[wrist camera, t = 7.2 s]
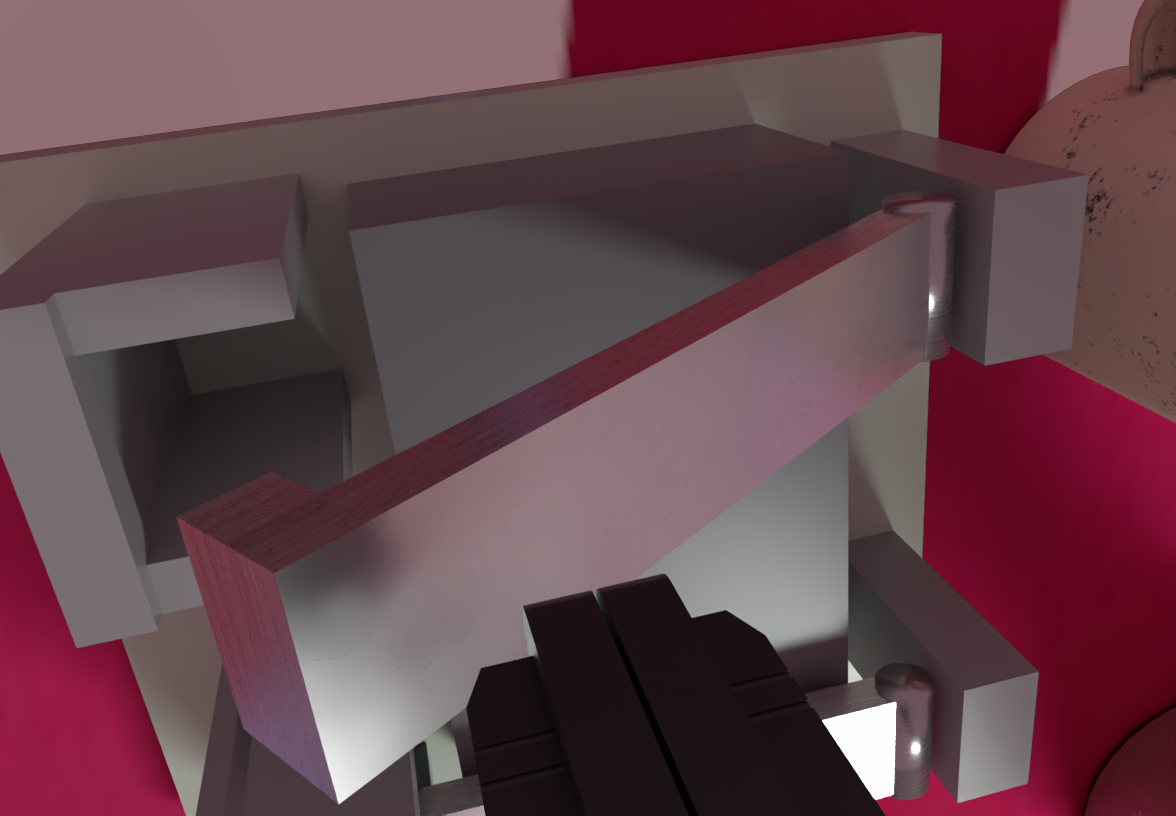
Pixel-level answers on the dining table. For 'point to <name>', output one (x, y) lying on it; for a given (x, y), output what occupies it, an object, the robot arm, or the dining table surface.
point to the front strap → (548, 494)
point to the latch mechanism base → (499, 355)
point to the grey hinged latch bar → (852, 715)
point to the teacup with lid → (1122, 212)
